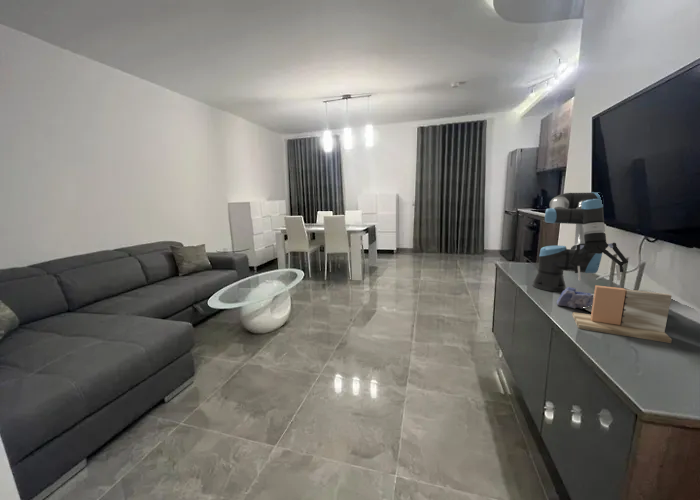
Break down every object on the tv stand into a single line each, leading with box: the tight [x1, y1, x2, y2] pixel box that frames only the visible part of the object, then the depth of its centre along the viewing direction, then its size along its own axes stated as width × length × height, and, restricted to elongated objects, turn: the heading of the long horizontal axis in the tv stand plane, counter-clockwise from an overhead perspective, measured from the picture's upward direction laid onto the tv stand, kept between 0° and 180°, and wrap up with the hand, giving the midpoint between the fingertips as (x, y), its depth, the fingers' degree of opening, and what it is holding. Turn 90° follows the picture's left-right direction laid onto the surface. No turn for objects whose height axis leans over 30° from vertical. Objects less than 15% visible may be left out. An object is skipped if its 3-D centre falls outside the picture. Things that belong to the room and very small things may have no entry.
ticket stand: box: [571, 288, 673, 344], centre depth 114 cm, size 14×26×16 cm, turn 62°
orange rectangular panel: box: [590, 284, 626, 325], centre depth 116 cm, size 2×9×14 cm, turn 62°
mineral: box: [556, 286, 594, 310], centre depth 137 cm, size 15×10×10 cm
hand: (598, 280), depth 132 cm, fingers open, 13 cm apart
